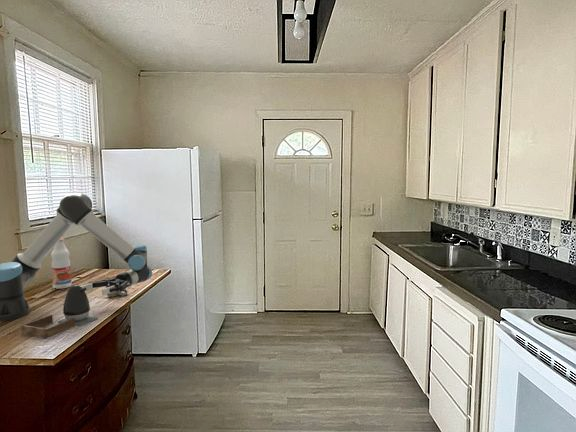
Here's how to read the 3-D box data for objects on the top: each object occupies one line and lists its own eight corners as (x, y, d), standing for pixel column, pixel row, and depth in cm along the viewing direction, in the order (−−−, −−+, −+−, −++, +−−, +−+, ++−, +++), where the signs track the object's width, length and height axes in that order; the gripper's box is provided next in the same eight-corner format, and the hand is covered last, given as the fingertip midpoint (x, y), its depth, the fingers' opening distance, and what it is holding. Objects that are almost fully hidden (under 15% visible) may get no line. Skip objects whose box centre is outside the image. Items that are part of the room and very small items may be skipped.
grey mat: (57, 322, 162) (57, 321, 162) (75, 315, 170) (75, 314, 170) (80, 326, 158) (80, 325, 157) (97, 318, 166) (97, 317, 166)
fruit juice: (63, 284, 224) (61, 237, 221) (75, 285, 220) (72, 238, 218) (48, 288, 215) (45, 239, 212) (60, 289, 212) (57, 240, 209)
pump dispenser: (79, 324, 158) (77, 289, 157) (57, 322, 160) (55, 288, 159) (96, 316, 168) (94, 282, 166) (76, 314, 170) (74, 281, 169)
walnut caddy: (21, 333, 150) (21, 325, 149) (51, 322, 162) (51, 314, 161) (46, 338, 145) (45, 329, 145) (75, 326, 157) (74, 318, 157)
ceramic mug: (104, 298, 196) (103, 283, 195) (109, 293, 204) (109, 279, 203) (125, 297, 198) (125, 283, 197) (129, 292, 206) (129, 279, 205)
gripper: (146, 289, 186) (113, 301, 166) (107, 284, 194) (71, 296, 174) (146, 274, 185) (112, 285, 165) (107, 270, 194) (70, 280, 174)
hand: (91, 291), depth 170 cm, fingers open, 13 cm apart
